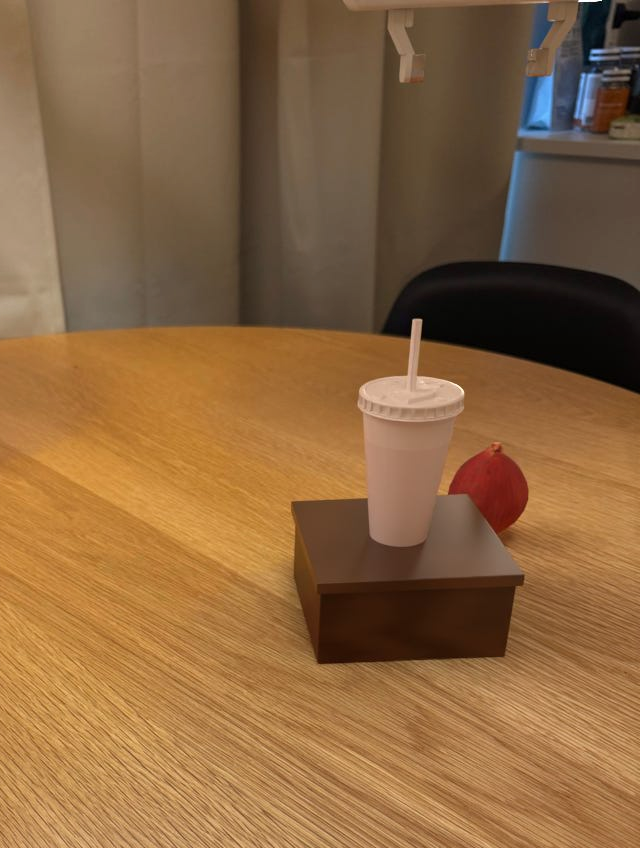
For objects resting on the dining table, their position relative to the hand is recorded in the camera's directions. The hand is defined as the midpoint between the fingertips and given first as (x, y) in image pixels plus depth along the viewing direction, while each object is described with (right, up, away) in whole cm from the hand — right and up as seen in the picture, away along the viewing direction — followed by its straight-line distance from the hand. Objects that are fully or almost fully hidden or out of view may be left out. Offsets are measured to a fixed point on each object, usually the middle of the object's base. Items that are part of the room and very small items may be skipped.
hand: (474, 79), depth 75 cm
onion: (+2, -34, +4) cm, 34 cm away
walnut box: (-7, -40, -5) cm, 41 cm away
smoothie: (-8, -35, -8) cm, 37 cm away
